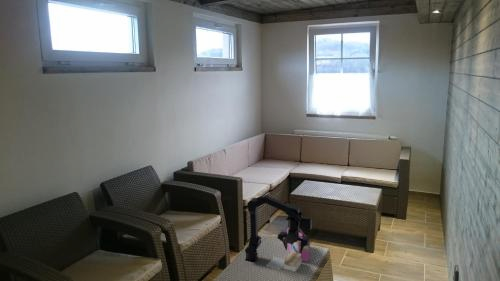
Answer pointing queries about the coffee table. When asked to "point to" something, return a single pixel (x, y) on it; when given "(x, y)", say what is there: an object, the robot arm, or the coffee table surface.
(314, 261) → the coffee table surface
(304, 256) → the gum box
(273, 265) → the mat
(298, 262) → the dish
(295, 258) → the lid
